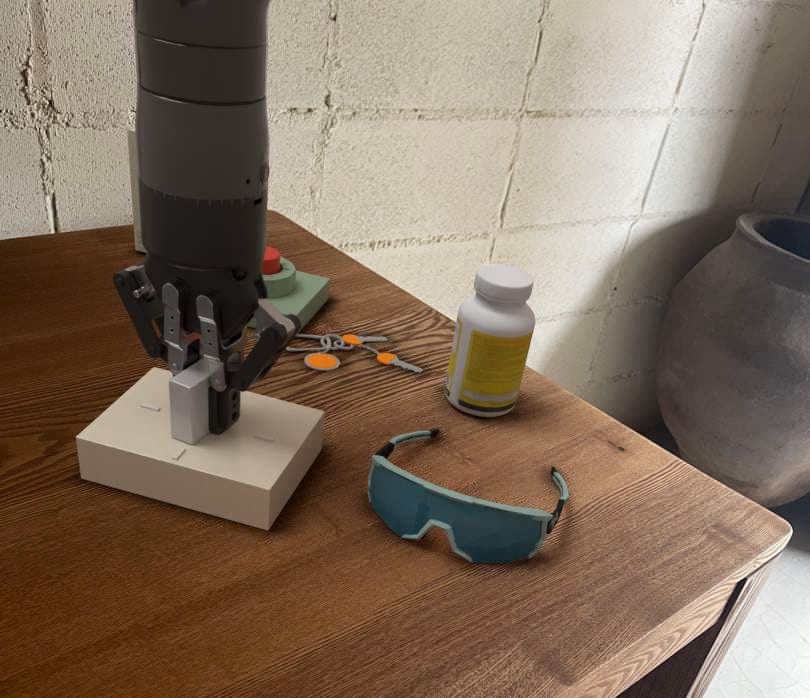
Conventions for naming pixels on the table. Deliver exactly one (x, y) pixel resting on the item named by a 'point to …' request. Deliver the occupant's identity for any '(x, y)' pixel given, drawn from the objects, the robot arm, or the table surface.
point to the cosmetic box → (135, 189)
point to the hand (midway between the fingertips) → (207, 422)
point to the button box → (295, 292)
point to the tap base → (203, 453)
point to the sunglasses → (457, 512)
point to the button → (271, 261)
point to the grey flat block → (190, 402)
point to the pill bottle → (491, 342)
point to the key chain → (330, 362)
